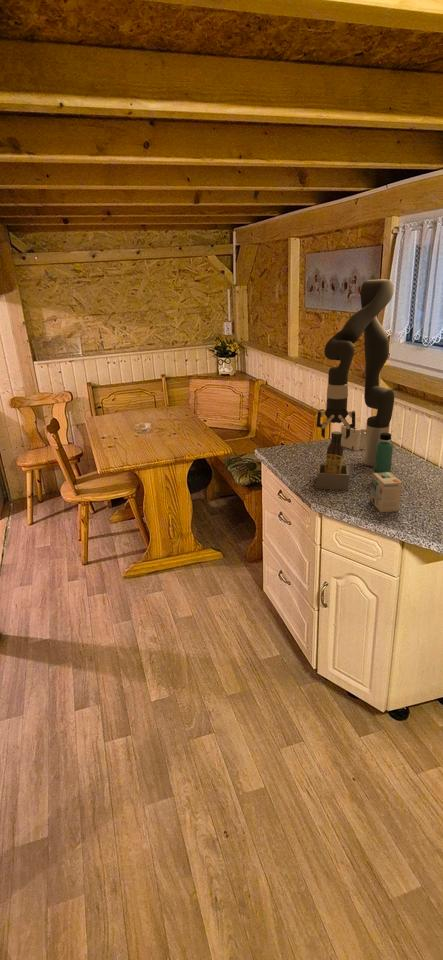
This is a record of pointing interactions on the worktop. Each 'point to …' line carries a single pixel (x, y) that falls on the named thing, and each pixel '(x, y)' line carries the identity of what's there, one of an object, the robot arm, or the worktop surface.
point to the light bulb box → (385, 491)
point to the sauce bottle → (334, 454)
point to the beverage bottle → (383, 454)
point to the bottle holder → (333, 478)
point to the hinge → (353, 438)
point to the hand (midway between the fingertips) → (335, 437)
